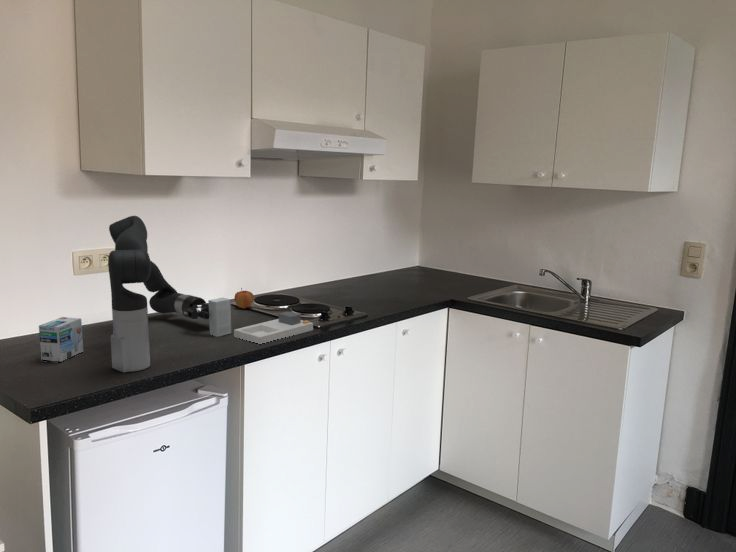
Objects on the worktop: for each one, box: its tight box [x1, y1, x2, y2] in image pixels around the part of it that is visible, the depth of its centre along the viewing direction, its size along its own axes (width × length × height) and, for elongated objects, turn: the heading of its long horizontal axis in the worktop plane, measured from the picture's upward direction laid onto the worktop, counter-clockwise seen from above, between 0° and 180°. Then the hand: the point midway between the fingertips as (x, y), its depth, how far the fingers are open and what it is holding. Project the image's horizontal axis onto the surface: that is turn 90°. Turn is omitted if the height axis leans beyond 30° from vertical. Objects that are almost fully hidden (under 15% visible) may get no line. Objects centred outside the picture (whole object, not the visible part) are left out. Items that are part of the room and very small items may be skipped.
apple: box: [234, 287, 254, 310], centre depth 245 cm, size 7×7×8 cm
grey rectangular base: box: [233, 311, 314, 345], centre depth 211 cm, size 24×13×6 cm, turn 140°
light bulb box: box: [38, 316, 84, 362], centre depth 182 cm, size 11×7×11 cm, turn 170°
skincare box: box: [207, 297, 232, 338], centre depth 208 cm, size 6×4×12 cm
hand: (219, 313), depth 208 cm, fingers open, 8 cm apart
